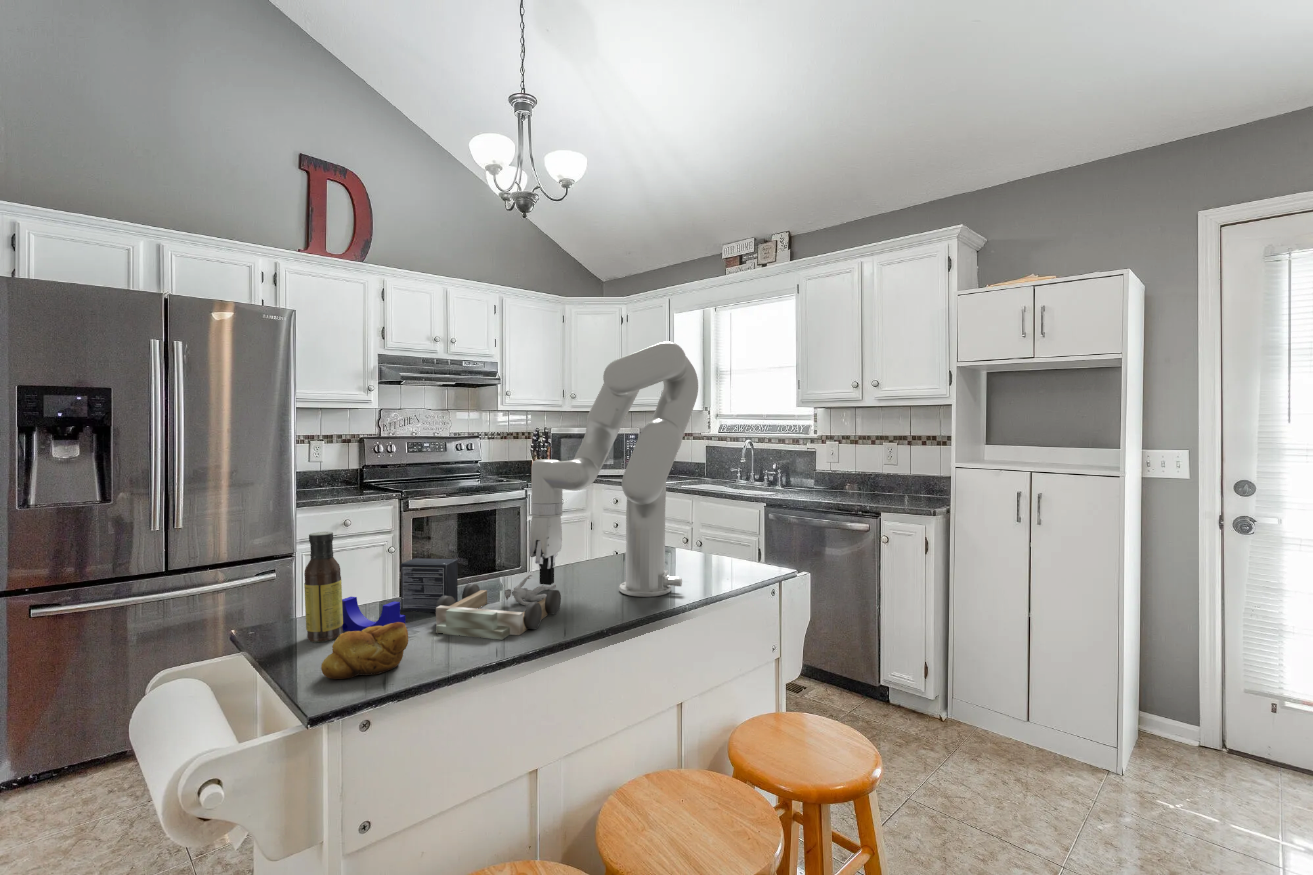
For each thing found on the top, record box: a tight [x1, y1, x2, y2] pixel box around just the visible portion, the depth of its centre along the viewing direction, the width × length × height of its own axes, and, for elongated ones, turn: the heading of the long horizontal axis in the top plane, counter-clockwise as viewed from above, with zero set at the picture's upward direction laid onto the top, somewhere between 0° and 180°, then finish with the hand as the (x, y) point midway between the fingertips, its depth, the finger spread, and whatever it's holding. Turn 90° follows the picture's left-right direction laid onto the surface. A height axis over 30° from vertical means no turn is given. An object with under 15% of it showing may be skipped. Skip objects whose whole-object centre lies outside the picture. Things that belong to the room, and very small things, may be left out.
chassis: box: [434, 583, 562, 640], centre depth 130 cm, size 21×20×5 cm
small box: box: [400, 557, 459, 613], centre depth 138 cm, size 11×6×10 cm, turn 84°
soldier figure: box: [504, 574, 557, 607], centre depth 144 cm, size 8×5×12 cm
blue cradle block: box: [342, 596, 406, 632], centre depth 124 cm, size 12×4×6 cm, turn 72°
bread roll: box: [320, 622, 409, 680], centre depth 104 cm, size 13×10×8 cm
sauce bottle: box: [303, 531, 344, 643], centre depth 119 cm, size 6×6×20 cm
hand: (546, 583), depth 155 cm, fingers closed
